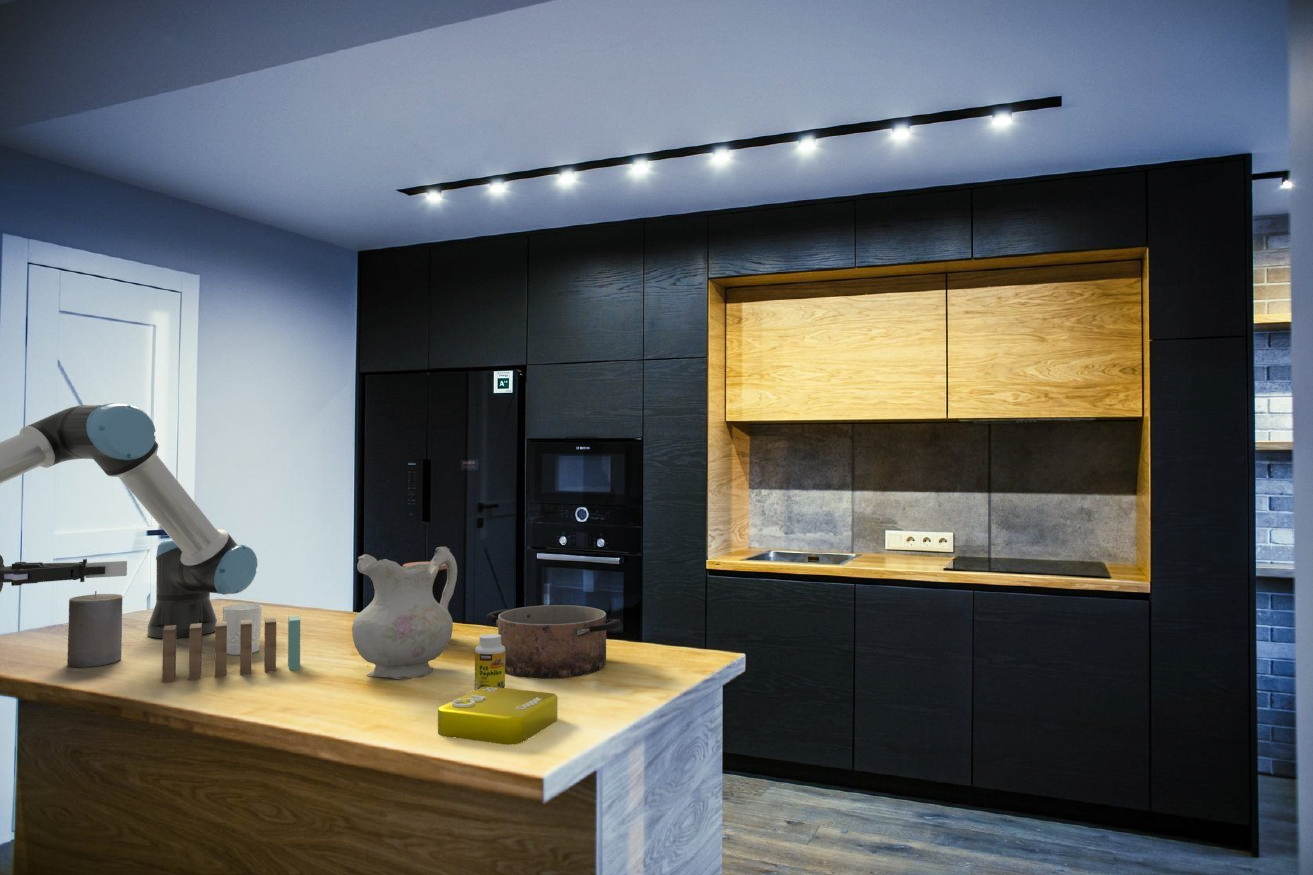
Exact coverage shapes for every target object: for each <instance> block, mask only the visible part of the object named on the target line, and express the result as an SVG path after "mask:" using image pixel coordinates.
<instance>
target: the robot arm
mask: <svg viewBox="0 0 1313 875" xmlns="http://www.w3.org/2000/svg"><path fill="white" fill-rule="evenodd" d="M155 433H156V428H155V425H154V422H153V420H152V419H151V417H150V416H149V415H148V414H147V413H146V412H145V411H144V410H142V409H140V408H139V407H137V406H134V405H131V404H124V403H118V402H115V403H114V402H113V403H105V404H82V405H81V404H80V405H75V406H72V407H71V406H70V407H69V408H66V409H63V410H61V411H58V412H55V413H53V414H51V415H48V416H46V417H44V418H42V419H40V420H37V421H36V422H33V423H31V424H28V425H26V426H24V427H22V428H21V429H20V431H19V434H17V435H14V436H13V437H10V438H7V439H5V440H3V441H0V485H1V484H3V483H5V482H7V481H9V480H11V479H14V478H16V477H18V476H21V475H23V474H26V473H28V472H30V471H32V470H34V469H36V468H39V467H42V468H50V467H53V466H55V465H57V464H60V463H63V462H67V461H73V460H83V459H85V460H94V462H95V464H97V465H98V467H99V468H100V469H101V470H102V471H103V472H104V473H105V474H106V475H107V476H108V477H112V478H119V480H121V481H122V482H123V484H124V485H125V486H126V487H127V489H129V491H130V492H131V493H132V494H133V495H134V497H135V498H136V499H137V500H138V501H139V502H140V504H141V505H142V506H143V507H144V509H146V511H147V512H148V513H149V514H150V516H151V517H152V518H153V519H154V521H155V522H156V523H157V524H158V525H159V526H160V527H161V528H162V530H163V531H164V532H165V533H166V534H167V536H168V537H169V539H170V540H166V541H165V540H164V541H161V542H160V543H159V544H158V545H157V550H156V555H155V560H156V583H155V584H156V587H155V588H156V590H155V591H156V593H155V594H156V598H155V600H156V601H155V605H154V608H153V611H152V613H151V617H150V619H149V621H148V624H147V636H148V637H150V638H157V639H163V629H164V627H165V626H170V625H176V639H178V638H186V637H189V628H190V625H191V624H197V623H202V635H206V634H211V633H213V632H215V626H216V622H218V619H217V616H216V613H215V609H214V607H213V605H212V602H211V594H218V595H219V594H220V595H235V594H239V593H242V592H243V591H244V590H246V589H248V587H249V586H250V585H251V584H252V582H253V581H254V579H255V577H256V575H257V568H258V558H257V554H256V553H255V551H254V550H253V549H252V548H251V547H249V546H247V545H246V544H237V542H236V541H235V540H234V539H233V537H232V536H231V535H230V534H229V533H228V531H227V530H225V529H222V528H216V527H215V526H214V525H213V524H212V523H211V521H210V520H209V519H208V517H207V516H206V515H205V514H204V512H203V511H202V510H201V508H200V507H199V506H198V505H197V504H196V502H195V501H194V499H193V498H192V497H191V496H190V495H189V494H188V492H187V491H186V489H184V487H183V486H182V485H181V483H180V482H179V481H178V480H177V479H176V477H175V476H174V475H173V473H172V472H171V471H170V470H169V469H168V467H167V466H166V465H165V463H164V462H163V461H162V460H161V459H160V457H159V456H158V455H157V454H158V450H159V443H158V442H157V441H156V435H155ZM3 558H4V557H3V556H2V555H1V554H0V593H1V592H2V591H3V586H4V583H5V584H6V583H11V585H10V586H12V587H13V586H18V587H19V586H22V585H27V584H38V583H45V582H46V583H47V582H48V583H49V582H59V581H60V582H61V581H78V580H79V582H80V583H85V581H86V580H85V579H92V578H93V579H95V578H112V577H113V578H114V577H127V575H128V561H127V560H121V561H120V560H119V561H117V560H116V561H96V562H95V561H94V562H88V559H87V558H83V559H82V561H79V562H78V561H76V562H74V561H73V562H38V561H37V562H26V561H15V562H14V563H12V564H11V565H9V566H5V564H4V559H3Z"/></svg>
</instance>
